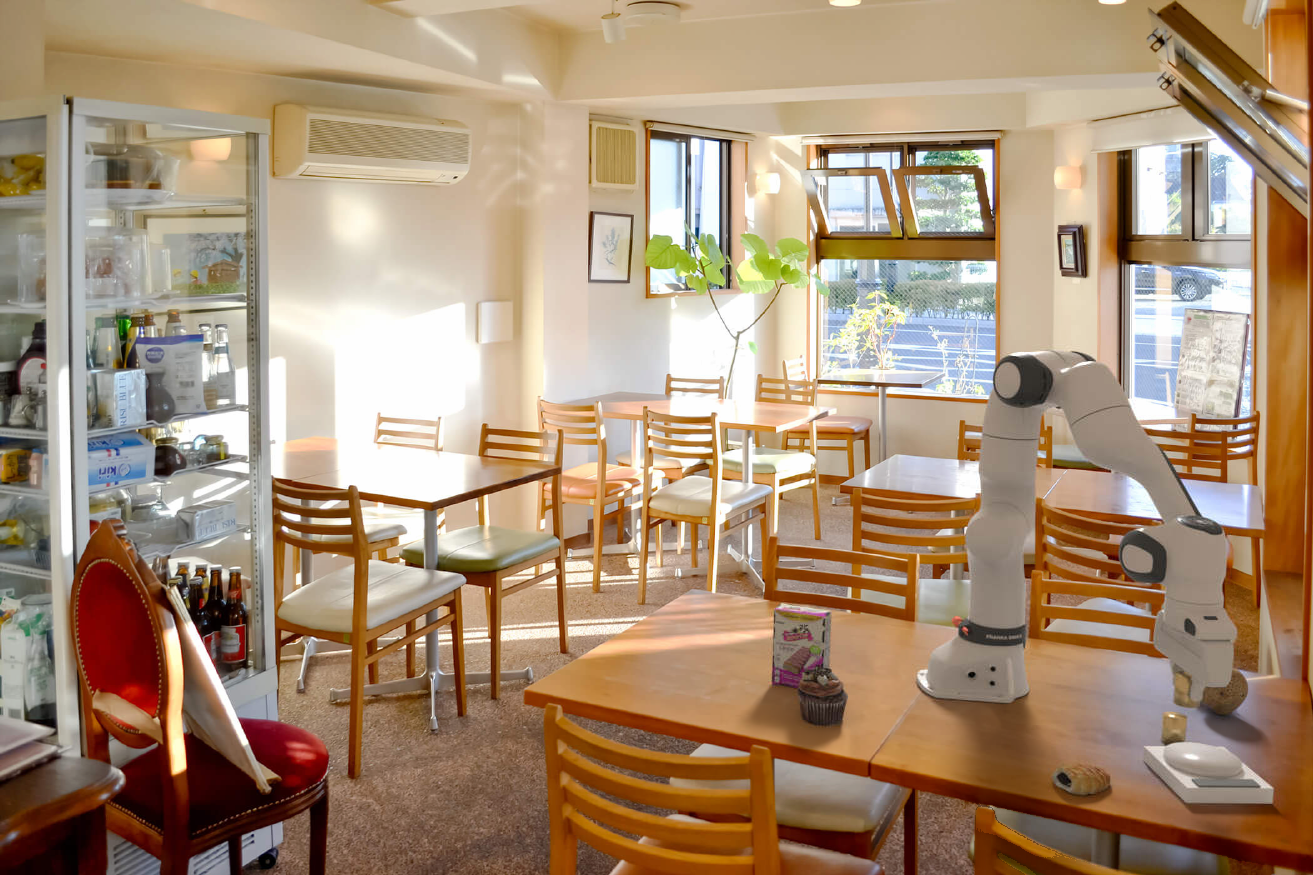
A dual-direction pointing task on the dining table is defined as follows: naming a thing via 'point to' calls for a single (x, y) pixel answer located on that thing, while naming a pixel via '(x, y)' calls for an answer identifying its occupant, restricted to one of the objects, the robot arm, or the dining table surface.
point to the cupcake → (821, 697)
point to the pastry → (1081, 779)
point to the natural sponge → (1227, 694)
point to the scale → (1206, 774)
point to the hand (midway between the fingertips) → (1186, 693)
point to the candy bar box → (799, 642)
